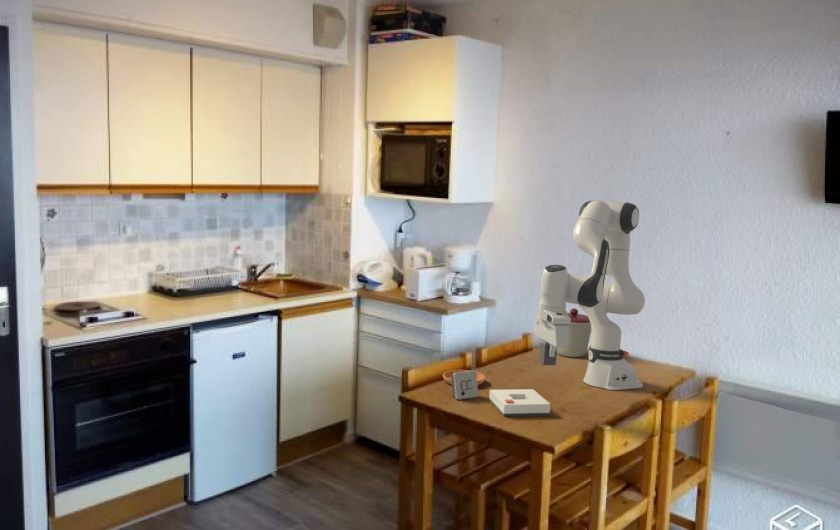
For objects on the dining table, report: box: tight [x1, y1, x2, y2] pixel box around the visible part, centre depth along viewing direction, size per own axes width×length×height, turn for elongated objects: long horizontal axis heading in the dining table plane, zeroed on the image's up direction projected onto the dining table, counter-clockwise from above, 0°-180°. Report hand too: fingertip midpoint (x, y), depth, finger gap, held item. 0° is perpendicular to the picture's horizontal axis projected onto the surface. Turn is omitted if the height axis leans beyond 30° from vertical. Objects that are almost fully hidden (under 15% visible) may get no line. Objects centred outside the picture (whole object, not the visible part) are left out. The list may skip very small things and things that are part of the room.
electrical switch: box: [451, 370, 479, 400], centre depth 257 cm, size 9×5×9 cm, turn 121°
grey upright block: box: [538, 338, 558, 366], centre depth 244 cm, size 4×4×8 cm
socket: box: [488, 388, 551, 418], centre depth 248 cm, size 16×16×5 cm
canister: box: [557, 307, 591, 358], centre depth 325 cm, size 18×18×21 cm
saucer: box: [442, 369, 486, 387], centre depth 275 cm, size 16×16×3 cm
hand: (548, 354), depth 244 cm, fingers closed on grey upright block, 4 cm apart
